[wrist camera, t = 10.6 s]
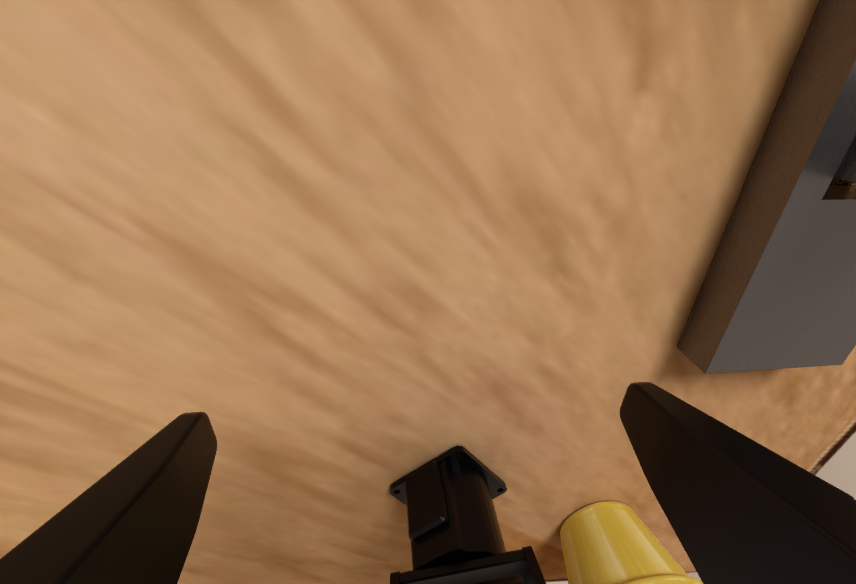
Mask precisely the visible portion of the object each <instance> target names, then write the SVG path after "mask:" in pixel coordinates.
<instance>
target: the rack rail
mask: <svg viewBox="0 0 856 584" xmlns="http://www.w3.org/2000/svg"><path fill="white" fill-rule="evenodd" d="M855 135H856V0H820V2H819V5H818V7H817V10H816V12H815V14H814V17H813V19H812V22H811V24H810V27H809V29H808V31H807V34H806V36H805V39H804V41H803V44H802V46H801V48H800V51H799V53H798V56H797V58H796V60H795V63H794V65H793V68H792V70H791V73H790V75H789V77H788V80H787V82H786V85H785V87H784V89H783V92H782V94H781V97H780V99H779V102H778V104H777V106H776V109H775V111H774V114H773V116H772V118H771V121H770V123H769V126H768V128H767V131H766V133H765V135H764V138H763V140H762V143H761V145H760V148H759V150H758V152H757V155H756V157H755V160H754V162H753V164H752V167H751V169H750V172H749V174H748V177H747V179H746V181H745V184H744V186H743V189H742V191H741V193H740V196H739V198H738V201H737V203H736V206H735V208H734V210H733V213H732V215H731V218H730V220H729V222H728V225H727V227H726V230H725V232H724V235H723V237H722V239H721V242H720V244H719V247H718V249H717V252H716V254H715V256H714V259H713V261H712V264H711V266H710V268H709V271H708V273H707V276H706V278H705V281H704V283H703V285H702V288H701V290H700V293H699V295H698V297H697V300H696V302H695V305H694V307H693V310H692V312H691V314H690V317H689V319H688V322H687V324H686V326H685V329H684V331H683V334H682V336H681V339H680V341H679V343H678V346H677V348H678V349H679V350H680V351H682V352H683V353H684V354H685V355H686V356H687V357H688V358H689V359H690V360H691V361H692V362H693V363H695V364H696V365H697V366H698V367H699V368H700V369H701V370H702V371H703V372H704V373H705V374H706V373H721V372H737V371H752V370H767V369H783V368H798V367H813V366H829V365H842V364H843V363H844V361H845V360H846V358H847V357H848V355H849V354H850V352H851V351H852V350H853V348H854V347H855V345H856V185H835V186H829V185H830V183H831V181H832V179H833V177H834V175H835V173H836V171H837V169H838V167H839V166H840V164H841V162H842V160H843V158H844V156H845V154H846V152H847V150H848V148H849V146H850V144H851V142H852V141H853V139H854V137H855Z"/></svg>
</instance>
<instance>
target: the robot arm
mask: <svg viewBox="0 0 856 584" xmlns="http://www.w3.org/2000/svg"><path fill="white" fill-rule="evenodd" d="M620 418H621V421H622V423H623V426H624V428H625V430H626V433H627V435H628V437H629V439H630V442H631V444H632V446H633V449H634V451H635V453H636V456H637V458H638V460H639V463H640V465H641V467H642V470H643V472H644V474H645V476H646V478H647V481H648V483H649V485H650V487H651V489H652V491H653V493H654V494H655V496H656V498H657V500H658V502H659V504H660V506H661V507H662V509H663V511H664V513H665V515H666V516H667V518H668V520H669V522H670V524H671V526H672V527H673V529H674V531H675V533H676V535H677V536H678V538H679V540H680V542H681V544H682V546H683V547H684V549H685V551H686V553H687V555H688V556H689V558H690V560H691V562H692V564H693V566H694V567H695V569H696V571H697V573H698V575H699V576H700V578H701V580H702V582H703V584H856V500H855V499H854V498H853V497H852V496H850V495H849V494H847V493H845V492H843V491H842V490H840V489H838V488H836V487H834V486H833V485H831V484H829V483H827V482H826V481H824V480H822V479H820V478H819V477H817V476H815V475H813V474H812V473H810V472H808V471H806V470H804V469H803V468H801V467H799V466H797V465H796V464H794V463H792V462H790V461H789V460H787V459H785V458H783V457H781V456H780V455H778V454H776V453H774V452H773V451H771V450H769V449H767V448H766V447H764V446H762V445H760V444H759V443H757V442H755V441H753V440H751V439H750V438H748V437H746V436H744V435H743V434H741V433H739V432H737V431H736V430H734V429H732V428H730V427H728V426H727V425H725V424H723V423H721V422H720V421H718V420H716V419H714V418H713V417H711V416H709V415H707V414H705V413H704V412H702V411H700V410H698V409H697V408H695V407H693V406H691V405H690V404H688V403H686V402H684V401H682V400H681V399H679V398H677V397H675V396H674V395H672V394H670V393H668V392H667V391H665V390H663V389H661V388H660V387H658V386H656V385H654V384H652V383H650V382H638V383H631V384H630V385H629V386H628V388H627V391H626V393H625V396H624V399H623V402H622V405H621V407H620ZM216 451H217V440H216V436H215V434H214V431H213V428H212V425H211V423H210V420H209V417H208V415H207V414H206V413H204V412H192V413H184V414H181V415H180V416H178V417H177V418H176V419H174V420H173V421H172V422H171V423H169V424H168V425H167V426H166V427H164V428H163V429H162V430H161V431H159V432H158V433H157V434H156V435H154V436H153V437H152V438H151V439H149V440H148V441H147V442H146V443H144V444H143V445H142V446H141V447H139V448H138V449H137V450H136V451H134V452H133V453H132V454H131V455H129V456H128V457H127V458H126V459H124V460H123V461H122V462H121V463H120V464H118V465H117V466H116V467H115V468H113V469H112V470H111V471H110V472H108V473H107V474H106V475H105V476H103V477H102V478H101V479H100V480H98V481H97V482H96V483H95V484H93V485H92V486H91V487H90V488H88V489H87V490H86V491H85V492H83V493H82V494H81V495H80V496H78V497H77V498H76V499H75V500H73V501H72V502H71V503H70V504H68V505H67V506H66V507H65V508H63V509H62V510H61V511H60V512H58V513H57V514H56V515H55V516H53V517H52V518H51V519H50V520H48V521H47V522H46V523H45V524H43V525H42V526H41V527H40V528H38V529H37V530H36V531H35V532H33V533H32V534H31V535H30V536H28V537H27V538H26V539H25V540H23V541H22V542H21V543H20V544H18V545H17V546H16V547H15V548H13V549H12V550H11V551H10V552H8V553H7V554H6V555H5V556H3V557H2V558H1V559H0V584H177V582H178V580H179V577H180V574H181V571H182V569H183V566H184V563H185V560H186V558H187V555H188V552H189V549H190V547H191V544H192V541H193V538H194V535H195V532H196V529H197V526H198V522H199V518H200V515H201V511H202V507H203V503H204V499H205V495H206V491H207V487H208V483H209V479H210V475H211V471H212V467H213V463H214V459H215V455H216ZM506 490H507V488H506V485H505V483H504V482H503V481H502V480H501V479H500V478H499V477H498V476H497V475H495V474H494V473H493V472H492V471H491V470H490V469H488V468H487V467H486V466H485V465H484V464H483V463H482V462H480V461H479V460H478V459H477V458H476V457H475V456H474V455H472V454H471V453H470V452H469V451H468V450H467V449H465V448H464V447H463V446H456V447H454V448H452V449H450V450H448V451H447V452H445V453H443V454H442V455H440V456H438V457H437V458H435V459H433V460H432V461H430V462H428V463H427V464H425V465H423V466H421V467H420V468H418V469H416V470H415V471H413V472H411V473H410V474H408V475H406V476H405V477H403V478H401V479H400V480H398V481H396V482H394V483H393V484H391V486H390V494H391V495H392V496H394V497H395V498H397V499H398V500H400V501H401V502H403V503H404V504H406V505H407V517H408V533H409V538H410V539H411V550H412V565H413V571H408V572H403V573H400V572H399V571H398V572H393V573H391V574H390V584H546V583H545V580H544V577H543V575H542V572H541V570H540V567H539V565H538V562H537V560H536V557H535V555H534V552H533V549H532V547H531V546H527V547H522V549H521V550H515V551H510V552H506V550H505V546H504V542H503V539H502V535H501V531H500V527H499V523H498V520H497V516H496V512H495V508H494V505H493V501H492V499H494V498H496V497H498V496H499V495H501V494H503V493H505V492H506Z"/></svg>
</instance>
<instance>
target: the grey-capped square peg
mask: <svg viewBox="0 0 856 584" xmlns="http://www.w3.org/2000/svg"><path fill="white" fill-rule="evenodd" d="M833 178H836V179H840V180H844V181H849V182H853V183H856V135H855V137H854V139H853V141H852V142H851V144H850V146H849V148H848V150H847V152H846V154H845V156H844V158H843V160H842V162H841V164H840V166H839V167H838V169H837V171H836V173H835V175H834V177H833Z"/></svg>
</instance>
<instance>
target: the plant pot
mask: <svg viewBox="0 0 856 584" xmlns="http://www.w3.org/2000/svg"><path fill="white" fill-rule="evenodd" d="M560 538H561V544H562V550H563V555H564V560H565V566H566V572H567V577H568V583H569V584H703V583H702V582H700V581H699V580H697V579H695V578H692V577H689V576H688V575H687V574H686V572H685V571H684V570H683V569H682V568H681V567H680V566H679V564H678V563H677V562H676V561H675V560H674V559H673V557H672V556H671V555H670V554H669V553H668V552H667V550H666V549H665V548H664V547H663V546H662V544H661V543H660V542H659V541H658V540H657V539H656V537H655V536H654V535H653V534H652V533H651V532H650V530H649V529H648V528H647V527H646V526H645V525H644V523H643V522H642V521H641V520H640V519H639V517H638V516H637V515H636V514H635V513H634V511H633V510H632V509H631V508H630V507H629V506H627V505H626V504H623V503H620V502H615V501H603V502H597V503H593V504H590V505H587V506H585V507H583V508H581V509H579V510H577V511H576V512H574V513H573V514H571V515H570V516H569V517H568V518H567V519H566V520H565V522H564V523H563V525H562V527H561V530H560Z"/></svg>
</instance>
